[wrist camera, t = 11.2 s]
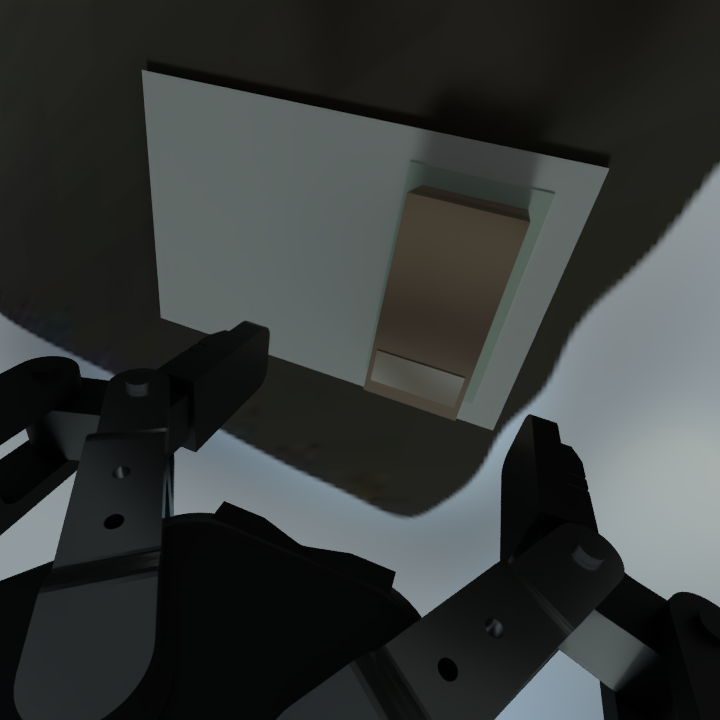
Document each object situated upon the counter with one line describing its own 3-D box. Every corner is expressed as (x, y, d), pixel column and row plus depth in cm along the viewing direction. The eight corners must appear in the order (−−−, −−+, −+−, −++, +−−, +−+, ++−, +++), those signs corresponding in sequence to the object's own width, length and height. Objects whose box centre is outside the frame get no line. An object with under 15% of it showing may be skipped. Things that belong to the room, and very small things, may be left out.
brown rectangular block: (422, 184, 18) (406, 192, 15) (528, 210, 17) (530, 222, 14) (380, 361, 22) (362, 390, 20) (462, 388, 22) (455, 421, 19)
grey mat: (165, 315, 27) (159, 318, 26) (148, 71, 20) (140, 69, 19) (493, 426, 23) (492, 431, 22) (607, 168, 16) (609, 168, 16)
